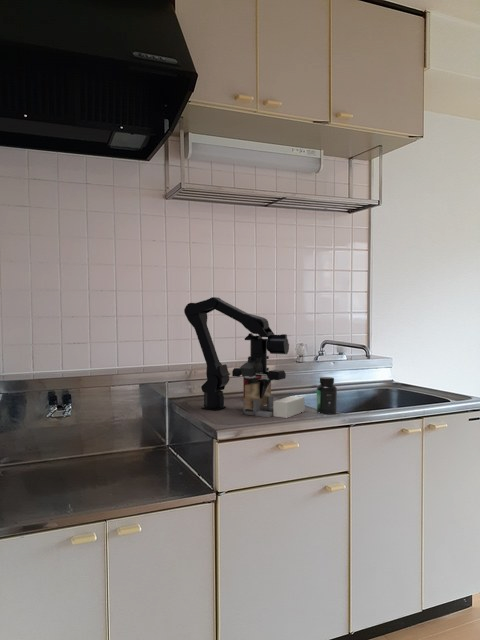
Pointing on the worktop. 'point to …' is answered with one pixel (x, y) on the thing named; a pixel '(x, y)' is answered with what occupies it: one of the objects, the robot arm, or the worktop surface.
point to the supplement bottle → (326, 396)
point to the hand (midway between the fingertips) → (258, 398)
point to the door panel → (255, 394)
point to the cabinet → (277, 407)
